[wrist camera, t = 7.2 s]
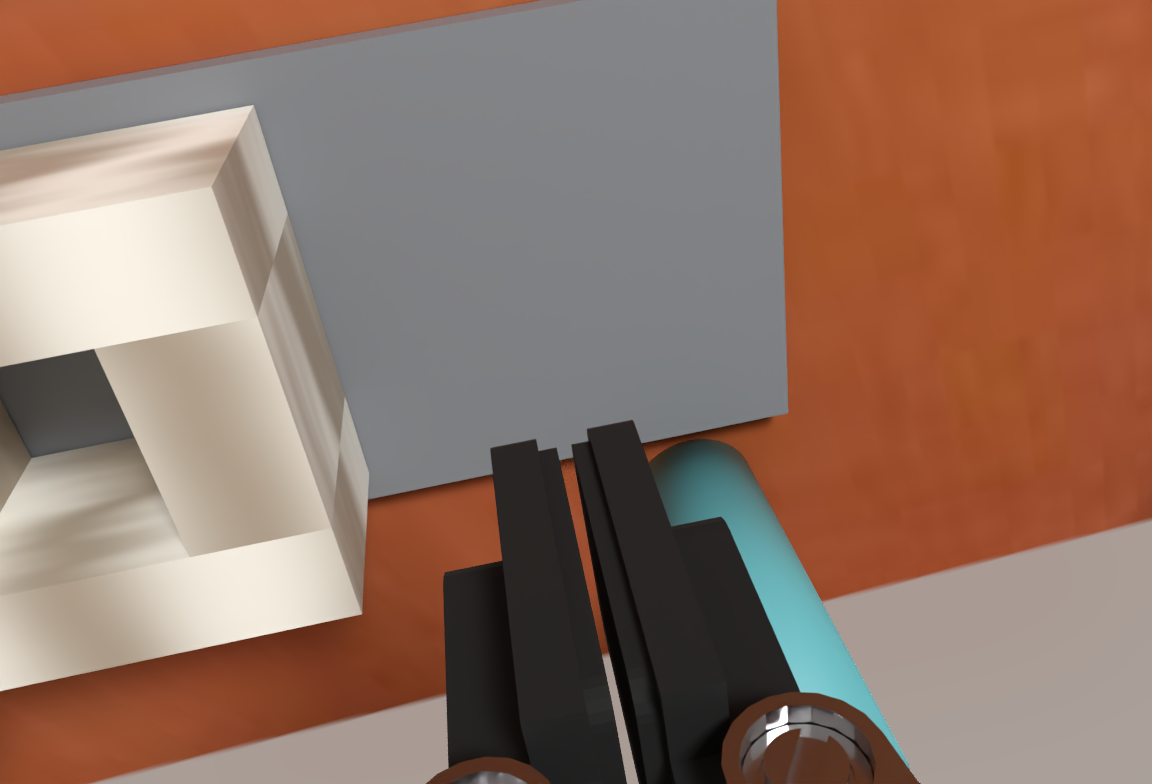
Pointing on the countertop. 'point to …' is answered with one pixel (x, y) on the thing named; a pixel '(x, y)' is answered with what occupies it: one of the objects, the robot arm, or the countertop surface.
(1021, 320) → the countertop surface
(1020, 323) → the countertop surface
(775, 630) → the dowel
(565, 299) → the track
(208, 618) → the block
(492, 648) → the robot arm
